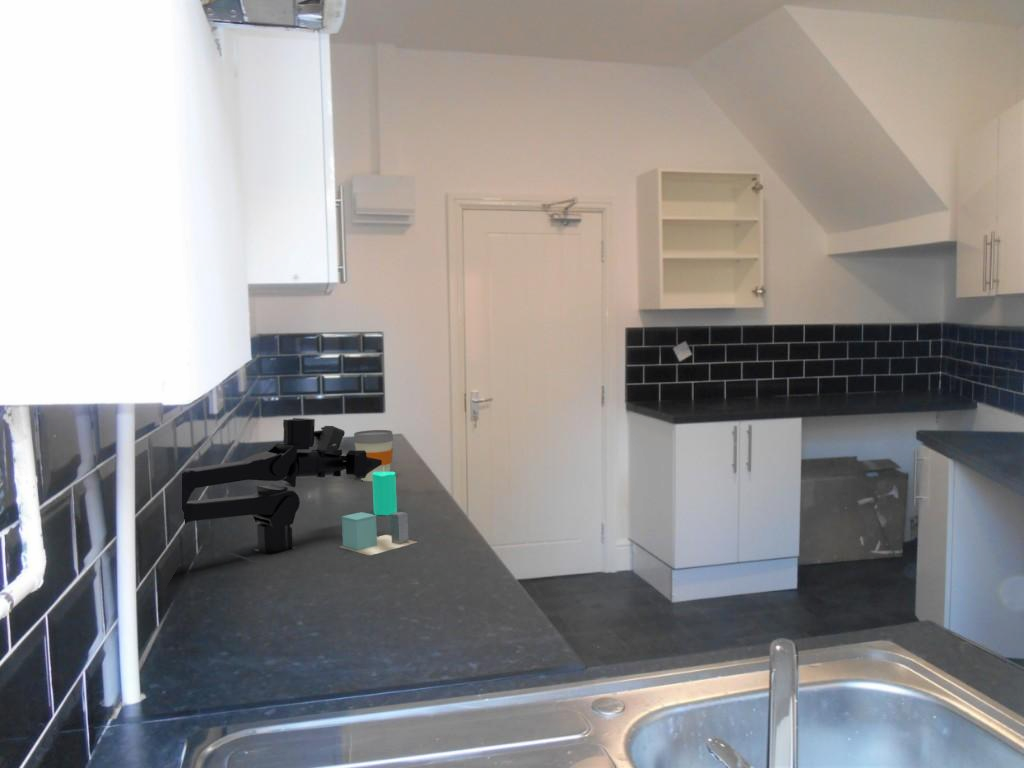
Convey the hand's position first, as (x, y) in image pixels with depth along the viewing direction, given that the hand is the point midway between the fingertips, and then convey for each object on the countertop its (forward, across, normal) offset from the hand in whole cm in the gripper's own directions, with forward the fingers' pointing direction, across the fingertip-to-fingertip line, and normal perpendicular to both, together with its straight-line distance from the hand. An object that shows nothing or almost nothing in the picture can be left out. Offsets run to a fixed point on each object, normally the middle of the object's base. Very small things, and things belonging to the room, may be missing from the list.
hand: (369, 461), depth 192 cm
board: (-7, -14, +18) cm, 24 cm away
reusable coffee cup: (+40, +56, +10) cm, 70 cm away
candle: (+14, +13, +14) cm, 24 cm away
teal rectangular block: (-10, -12, +17) cm, 23 cm away
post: (-3, -16, +18) cm, 24 cm away
